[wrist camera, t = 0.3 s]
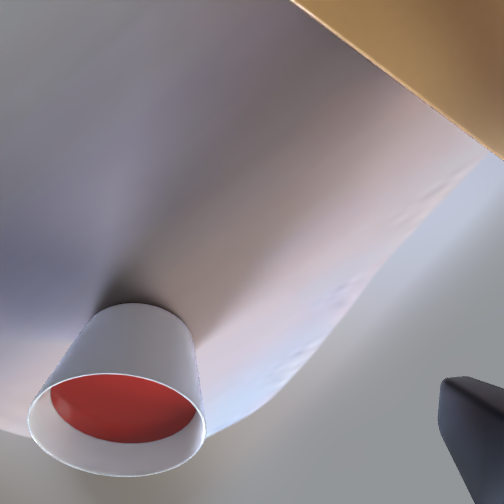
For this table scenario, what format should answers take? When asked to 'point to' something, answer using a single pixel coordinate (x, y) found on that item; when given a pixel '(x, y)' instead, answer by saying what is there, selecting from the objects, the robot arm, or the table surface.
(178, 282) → the table surface
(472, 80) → the cabinet
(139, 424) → the candle
